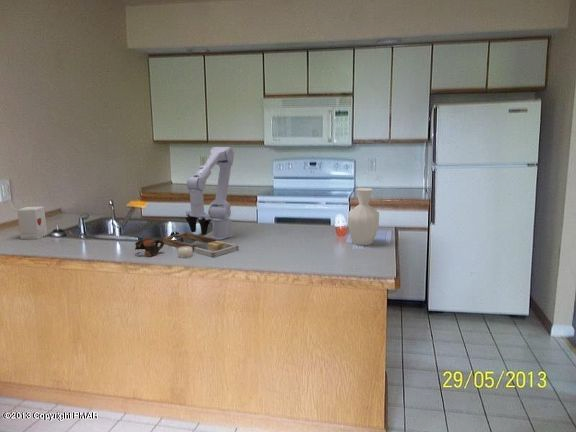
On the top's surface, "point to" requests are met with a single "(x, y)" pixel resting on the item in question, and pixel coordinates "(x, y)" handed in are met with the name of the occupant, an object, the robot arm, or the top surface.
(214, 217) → the robot arm
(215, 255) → the grey corral
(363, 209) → the vase
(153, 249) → the pottery mug
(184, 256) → the cream egg-shaped dome
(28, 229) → the supplement box
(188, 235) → the brown u-shaped frame
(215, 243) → the oak block
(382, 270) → the top surface
